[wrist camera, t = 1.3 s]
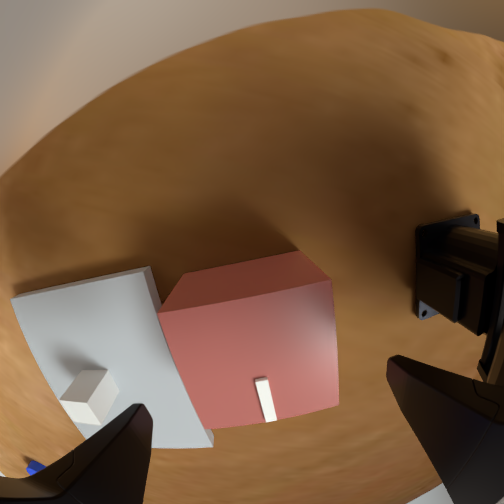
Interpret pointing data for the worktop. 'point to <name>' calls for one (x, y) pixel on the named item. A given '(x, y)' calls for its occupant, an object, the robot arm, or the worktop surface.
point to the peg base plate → (110, 355)
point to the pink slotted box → (254, 340)
